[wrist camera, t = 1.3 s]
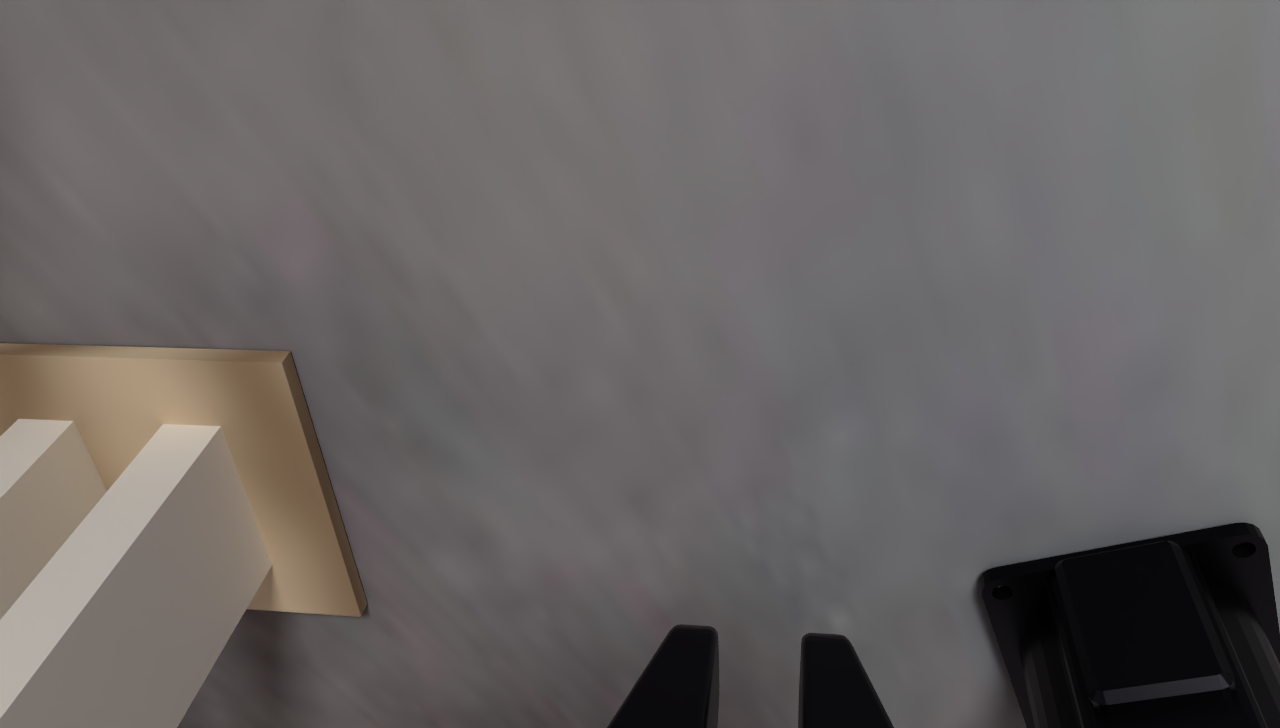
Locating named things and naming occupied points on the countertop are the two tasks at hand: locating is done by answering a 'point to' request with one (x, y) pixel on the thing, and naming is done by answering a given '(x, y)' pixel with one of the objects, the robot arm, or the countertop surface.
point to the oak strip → (209, 396)
